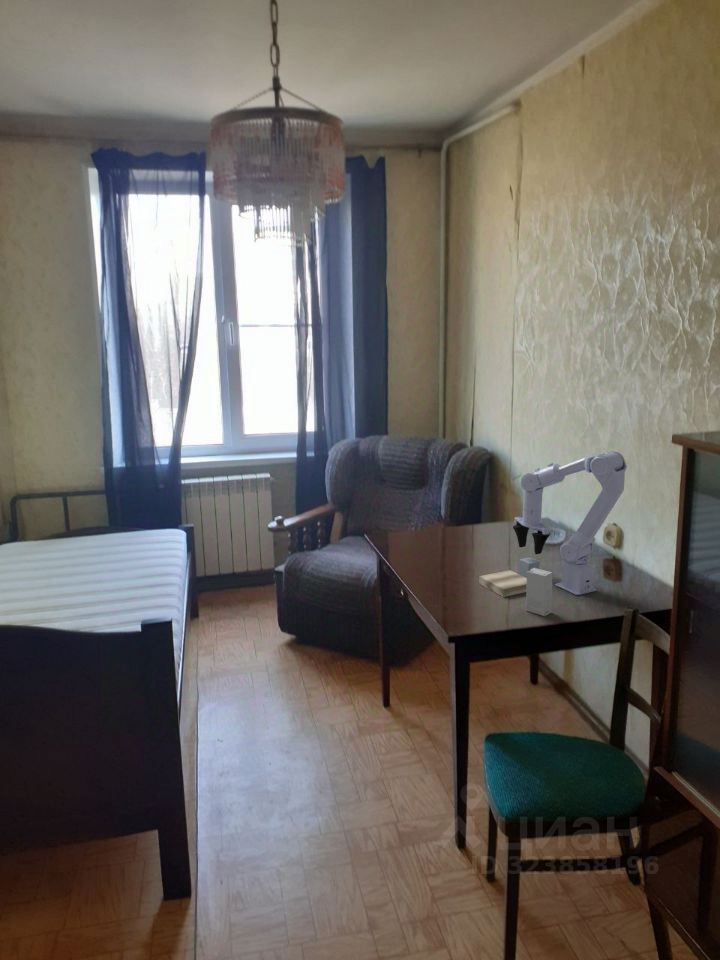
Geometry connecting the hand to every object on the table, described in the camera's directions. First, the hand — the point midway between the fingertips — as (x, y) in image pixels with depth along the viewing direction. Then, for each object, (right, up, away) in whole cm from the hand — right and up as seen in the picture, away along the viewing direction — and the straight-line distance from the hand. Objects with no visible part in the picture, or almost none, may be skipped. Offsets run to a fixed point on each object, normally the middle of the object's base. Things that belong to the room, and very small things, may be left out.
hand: (530, 550), depth 223 cm
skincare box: (-4, -15, -26) cm, 31 cm away
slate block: (0, -8, +2) cm, 9 cm away
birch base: (-9, -11, -8) cm, 16 cm away
